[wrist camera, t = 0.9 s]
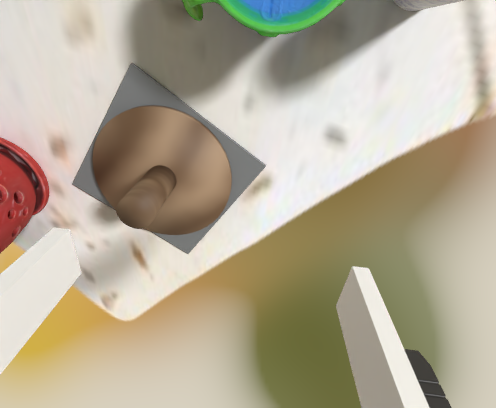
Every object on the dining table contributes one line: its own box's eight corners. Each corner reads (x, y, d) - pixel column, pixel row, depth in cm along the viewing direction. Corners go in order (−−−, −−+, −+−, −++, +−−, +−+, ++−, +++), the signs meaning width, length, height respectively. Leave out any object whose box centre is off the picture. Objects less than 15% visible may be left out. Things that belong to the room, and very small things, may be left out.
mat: (74, 182, 37) (72, 184, 37) (132, 62, 29) (131, 63, 29) (188, 252, 42) (188, 254, 41) (265, 165, 34) (265, 166, 33)
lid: (77, 183, 36) (25, 221, 29) (133, 70, 29) (83, 80, 21) (187, 250, 41) (167, 299, 33) (259, 166, 34) (256, 204, 26)
